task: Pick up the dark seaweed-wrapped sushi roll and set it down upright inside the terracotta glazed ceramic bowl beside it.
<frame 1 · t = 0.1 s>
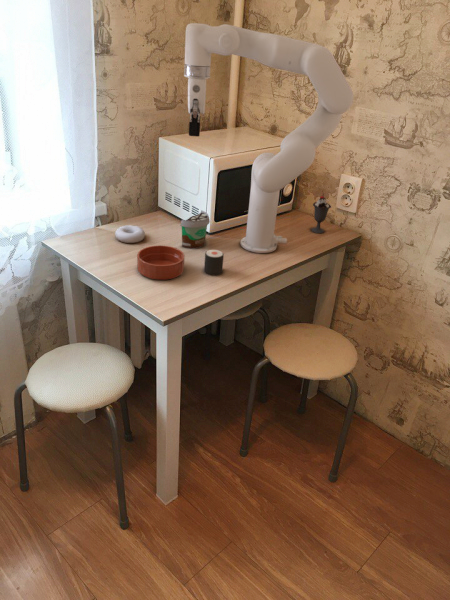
hand: (194, 132, 157), 37 cm above the table, tool pointing down, fingers open, 9 cm apart
bowl: (160, 270, 156), on the table
food container: (197, 245, 174), on the table
donut: (130, 239, 175), on the table
sushi roll: (213, 271, 158), on the table
sundae: (317, 231, 194), on the table
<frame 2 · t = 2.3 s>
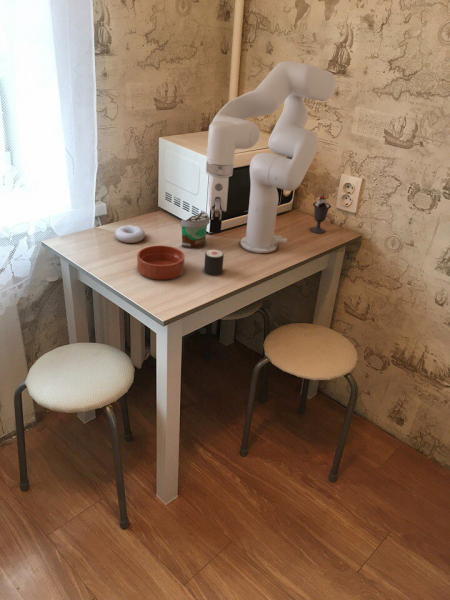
hand: (214, 226, 151), 15 cm above the table, tool pointing down, fingers open, 9 cm apart
nothing on the table moved.
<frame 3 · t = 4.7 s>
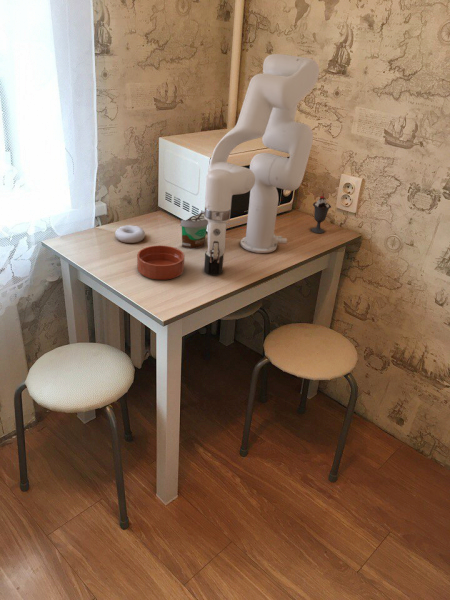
hand: (213, 268, 158), 1 cm above the table, tool pointing down, fingers closed on sushi roll, 5 cm apart
sushi roll: (213, 271, 158), on the table, touching gripper
everything else where it was.
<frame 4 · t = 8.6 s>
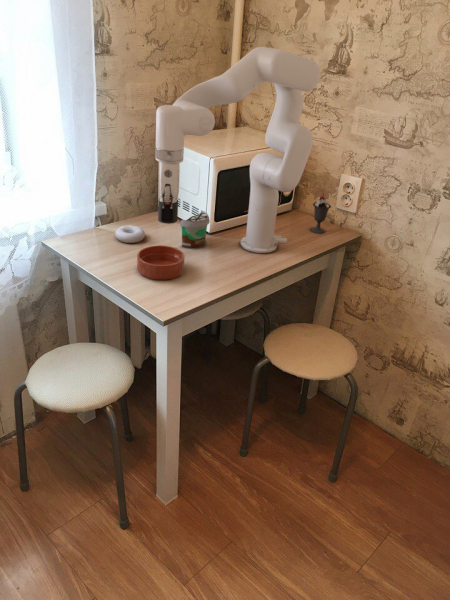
hand: (167, 216, 148), 17 cm above the table, tool pointing down, fingers closed on sushi roll, 5 cm apart
sushi roll: (167, 220, 148), point 16 cm above the table, touching gripper
everything else where it was.
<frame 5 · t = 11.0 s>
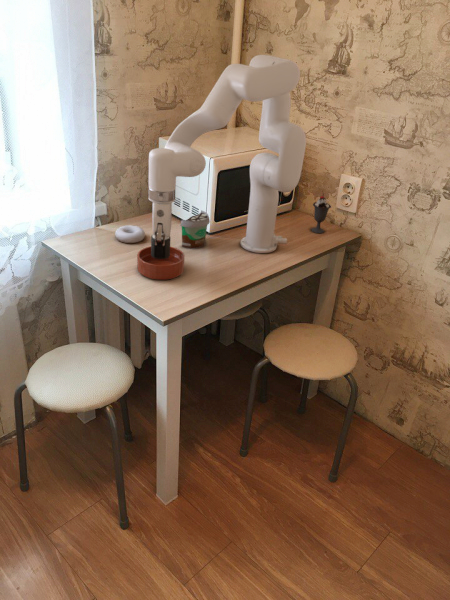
hand: (160, 252, 153), 6 cm above the table, tool pointing down, fingers closed on sushi roll, 5 cm apart
sushi roll: (160, 255, 154), point 5 cm above the table, touching gripper
everything else where it was.
when the fingers open (2 cm above the table, at t = 12.6 s): sushi roll stays where it is, resting on bowl.
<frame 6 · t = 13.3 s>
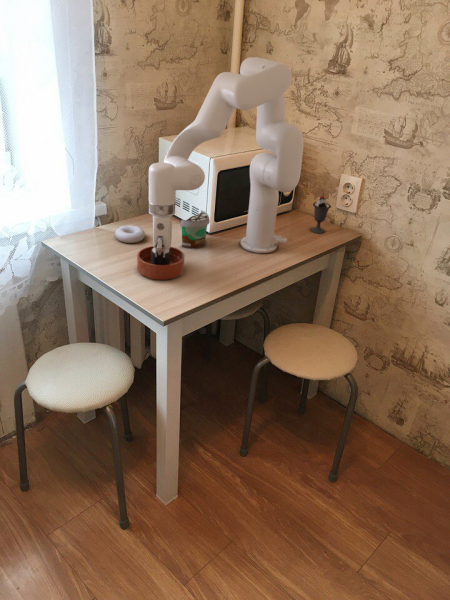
hand: (161, 261, 155), 3 cm above the table, tool pointing down, fingers open, 9 cm apart
sushi roll: (160, 268, 156), point 1 cm above the table, touching bowl
everything else where it was.
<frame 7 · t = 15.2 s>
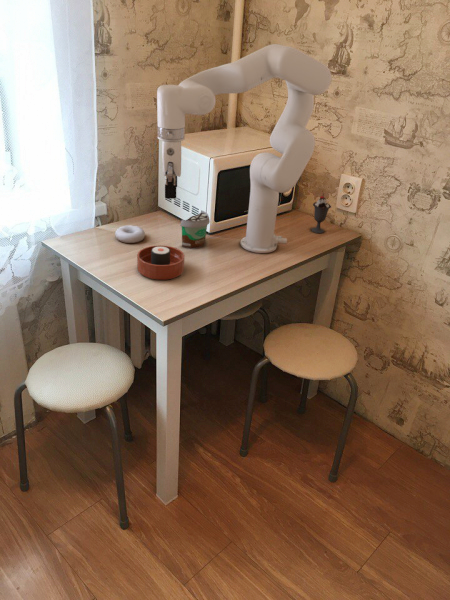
hand: (171, 192, 151), 22 cm above the table, tool pointing down, fingers open, 9 cm apart
nothing on the table moved.
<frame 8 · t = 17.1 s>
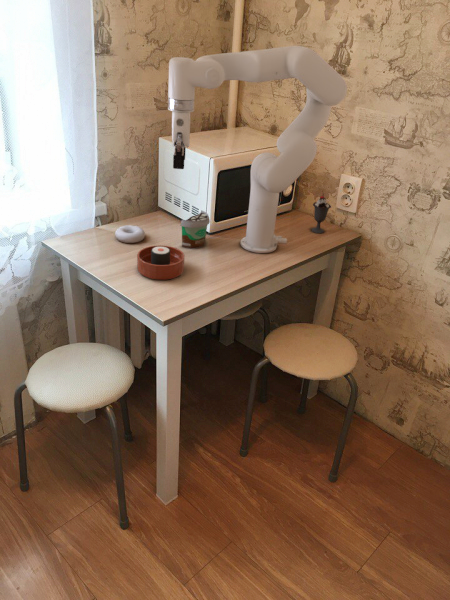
hand: (179, 164, 156), 28 cm above the table, tool pointing down, fingers open, 9 cm apart
nothing on the table moved.
at the end: sushi roll 0.1 cm off-centre in the bowl, point 0.6 cm above the bowl's base; sushi roll tilted 0°; the gripper is holding nothing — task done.
